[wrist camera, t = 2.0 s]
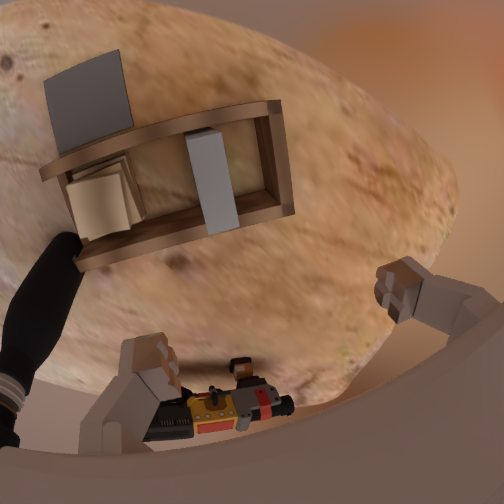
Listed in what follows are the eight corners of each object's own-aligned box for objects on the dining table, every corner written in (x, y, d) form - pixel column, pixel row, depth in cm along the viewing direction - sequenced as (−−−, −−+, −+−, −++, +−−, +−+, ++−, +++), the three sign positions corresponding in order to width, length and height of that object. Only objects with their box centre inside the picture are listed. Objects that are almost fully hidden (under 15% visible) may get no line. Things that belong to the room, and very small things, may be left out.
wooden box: (91, 249, 33) (80, 273, 28) (58, 158, 27) (38, 169, 22) (277, 198, 37) (294, 214, 32) (263, 100, 30) (280, 99, 25)
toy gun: (263, 363, 55) (291, 422, 43) (125, 376, 46) (128, 445, 33) (269, 342, 52) (301, 404, 40) (118, 354, 43) (119, 428, 30)
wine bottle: (46, 260, 32) (-36, 452, 6) (58, 223, 30) (-54, 427, 5) (82, 279, 35) (32, 487, 10) (97, 245, 33) (31, 474, 8)
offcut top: (84, 231, 28) (80, 238, 26) (72, 180, 25) (66, 185, 23) (132, 222, 29) (130, 229, 27) (122, 169, 26) (119, 173, 24)
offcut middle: (94, 232, 31) (89, 241, 29) (72, 181, 27) (65, 187, 25) (144, 213, 31) (141, 220, 29) (123, 158, 28) (119, 162, 26)
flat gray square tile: (61, 153, 27) (59, 154, 26) (45, 81, 21) (43, 81, 21) (133, 125, 28) (133, 126, 27) (119, 50, 23) (118, 49, 22)
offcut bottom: (98, 227, 33) (94, 235, 31) (78, 170, 29) (72, 175, 27) (146, 211, 34) (144, 218, 32) (128, 152, 30) (124, 155, 28)
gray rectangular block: (199, 202, 35) (208, 235, 26) (183, 132, 30) (186, 140, 21) (223, 196, 35) (239, 227, 27) (208, 126, 30) (221, 132, 22)
